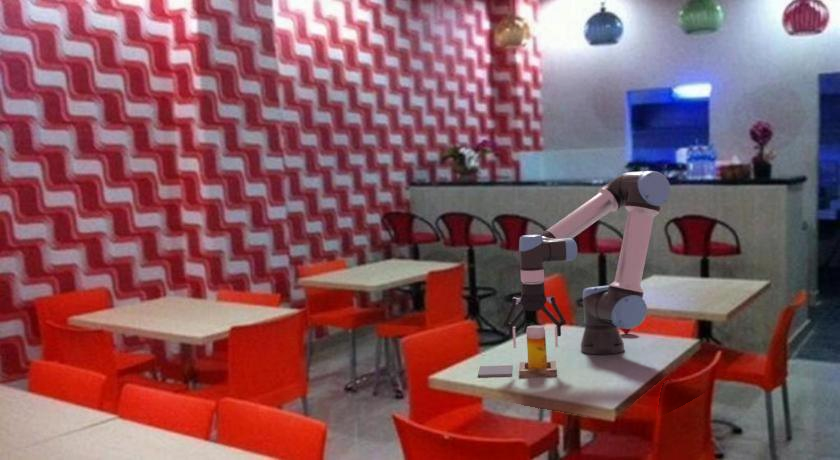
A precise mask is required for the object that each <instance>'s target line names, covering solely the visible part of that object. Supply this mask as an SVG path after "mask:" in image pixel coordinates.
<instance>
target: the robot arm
mask: <svg viewBox="0 0 840 460" xmlns="http://www.w3.org/2000/svg"><path fill="white" fill-rule="evenodd" d="M670 195H671V185H670V182H669V180H668V179H667V177H666V176H665V175H664V174H663V173H662V172H659V171H656V170H655V171H654V170H644V171H628V172H624V173H622V174H620V175H619V176H617V177H616V178H614V179H612V180H611V181H609V182H608V183H606V184H605V185H603V186H602V187H600V188H599V189H598V191H597V194H596V195H594V196H593V197H591V198H590V199H589V200H587V201H586V202H584V203H583V204H581V205H580V206H579V207H577V208H576V209H575V210H573V211H572V212H570V213H569V214H567V215H566V216H565V217H563V218H562V219H560V220H559V221H558V222H557V223H554V224H553V225H552V226H551V227H549V228H548V229H546V230H545V231H543V232H542V233H540V234H526V235H521V236H520V237H519V243H518V245H519V246H518V251H519V262H520V263H519V266H520V270H519V271H520V281H521V282H522V283H521V285H520V288H521V289H520V290H521V292H520V293H521V297H519V298H518V297H515V296H513V297H512V300H511V305H510V307H509V310H508V312H507V314H506V317H505V319H504V321H503V326H504V327H507V328H508V330H509V331H508V333H509V338H512V345H513V347H512V348H513V349H516V348H517V339H516V338H517V337H516V326H515V325H516V323H517V322H518V321H519V320H520V318H521V317H522V316H523V315H524V314H525V312H526V311H529V312H533V311H535V312H538V311H542V312H543V313H544V314H545V315H546V316H547V317H548V318H549V319H550V320H551V321H552V322H553V324H555V325H554V343H555V348H558V347H559V343H558V342H559V340H558V339H559V337H561V336H562V329H561V327H563V326H564V325H566V324H567V321H566V319H565V317H564V316H563V315H564V314H563V313H562V312H561V310H560V308H559V307H558V304H557V303H556V298H555V296H554V295H551V296H548V297H546V292H545V290H546V289H545V282H544V281H545V273H544V272H545V270H544V269H545V268H544V267H545V265H544V264H549V263H559V262H561V263H562V262H568V261H573V260H575V259H576V258H577V255H578V245H577V242H576V241H575V239H574V238H575V237H576V236H578V235H580V234H581V233H582V232H584V231H585V230H586V229H588V228H589V227H590V226H592V225H593V224H594V223H596V222H597V221H599V220H600V219H601V218H603V217H605V216H606V215H607V214H609V213H610V212H616V211H618V210H619V209H621V208H625V210H626V211H627V218H626V223H625V227H624V232H623V236H622V237H623V238H622V242H621V247H620V252H619V258H618V263H617V266H616V273H615V276H614V277H615V278H614V280H613V282H612V283H610V284H609V285H599V286H591V287H586V288H584V289H583V291H582V307H583V308H582V309H583V320H584V331H583V333H582V334H583V335H582V338H581V342H580V351H581V352H582V353H584V354H588V355H599V356H600V355H601V356H603V355H615V354H618V353H622V352H624V351H625V343H624V341H623V338H622V335H621V332H620V330H619V329H620V328H623V329H631V330H632V329H635V328H637V327H638V326H640V325H641V324H642V323H643V322H644V321H645V318H646V316H647V313H648V307H647V304H646V301H645V300H644V299H643V298H644V294H645V293H644V292H645V291H644V290H643V288H642V287H641V284H642V280H643V274H644V269H645V263H646V260H647V259H646V258H647V254H648V248H649V245H650V239H651V234H652V228H653V222H654V218H655V217H656V216H657V215H659V214H660V213H661V212H660V211H661V207H662V205H665V203H667V202H668V200H669V198H670ZM547 302H548V303H549V304H551V305H552V308H553V309H554V311H555V313H556V315H557V317H558V318H559V320H560V321H559V320H558V319H557V318H556V317H555V316H554V315H553V313H552V312H551V311H550V310H549V309H548V308H547V307H546V306H545V304H546V303H547ZM519 303H521V304H522V307H521V308H520V310H519V312H518V313H516V315H515V316H514V317H513V319H511V317H512V315H513V313H514V311H515V308H516V306H517V305H519ZM510 319H511V321H510ZM509 321H510V322H509Z"/></svg>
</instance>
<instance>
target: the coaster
mask: <svg viewBox="0 0 840 460" xmlns="http://www.w3.org/2000/svg"><path fill="white" fill-rule="evenodd" d="M478 369H479V370H478V372H477V377H478V378H480V377H479V376H482V377H481V378H491V377H492V376H494V377H492V378H495V376H497V377H498V376H500V377H512V376H513V365H512V364H509V365H508V364H507V365H506V364H505V365H481V366H479V368H478ZM486 376H487V377H486Z"/></svg>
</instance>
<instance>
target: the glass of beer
mask: <svg viewBox="0 0 840 460" xmlns="http://www.w3.org/2000/svg"><path fill="white" fill-rule="evenodd" d="M525 331H526V335H525V336H526V349H527V362H528V367H529V369H548V368H547V361H548V359H547V358H548V357H547V341H546V329H545V327H544V325H540V324H534V325H532V324H531V325H529V326H527V327H526V330H525Z"/></svg>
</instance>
